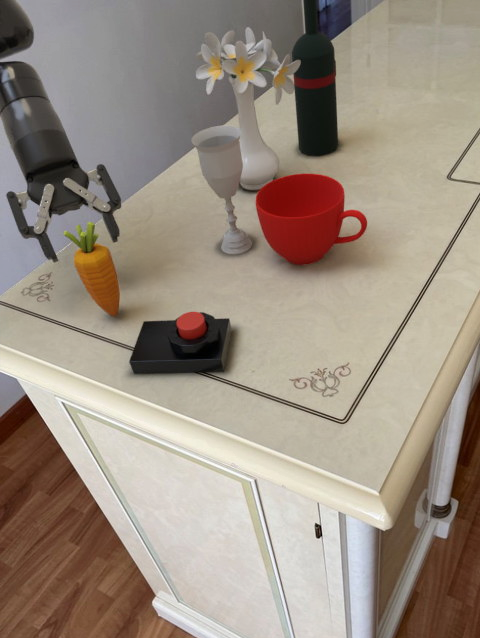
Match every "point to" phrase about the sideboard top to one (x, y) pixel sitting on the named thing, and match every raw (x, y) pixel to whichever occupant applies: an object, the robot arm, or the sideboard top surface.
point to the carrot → (96, 269)
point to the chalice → (223, 176)
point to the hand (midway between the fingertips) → (86, 250)
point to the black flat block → (181, 348)
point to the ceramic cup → (304, 216)
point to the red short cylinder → (191, 325)
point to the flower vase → (248, 94)
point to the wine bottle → (315, 88)
